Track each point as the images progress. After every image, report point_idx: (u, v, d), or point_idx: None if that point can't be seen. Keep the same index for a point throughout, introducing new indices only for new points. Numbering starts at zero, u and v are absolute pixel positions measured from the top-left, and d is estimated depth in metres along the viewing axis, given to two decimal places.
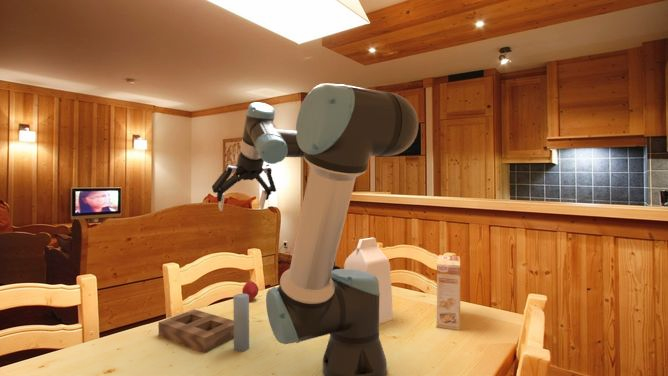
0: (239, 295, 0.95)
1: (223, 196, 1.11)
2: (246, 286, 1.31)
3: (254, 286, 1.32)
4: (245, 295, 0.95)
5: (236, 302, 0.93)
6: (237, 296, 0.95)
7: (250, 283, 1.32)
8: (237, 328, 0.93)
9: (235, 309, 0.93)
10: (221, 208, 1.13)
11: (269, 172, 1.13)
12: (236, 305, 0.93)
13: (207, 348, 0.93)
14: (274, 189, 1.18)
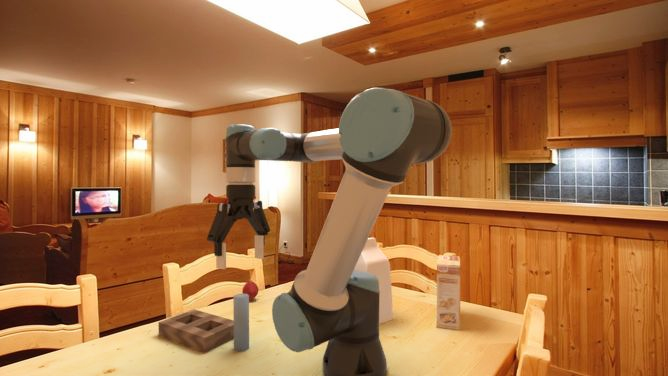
0: (239, 295, 0.95)
1: (224, 245, 0.88)
2: (246, 286, 1.31)
3: (254, 286, 1.32)
4: (245, 295, 0.95)
5: (236, 302, 0.93)
6: (237, 296, 0.95)
7: (250, 283, 1.32)
8: (237, 328, 0.93)
9: (235, 309, 0.93)
10: (224, 265, 0.89)
11: (260, 205, 1.00)
12: (236, 305, 0.93)
13: (207, 348, 0.93)
14: (268, 228, 1.02)
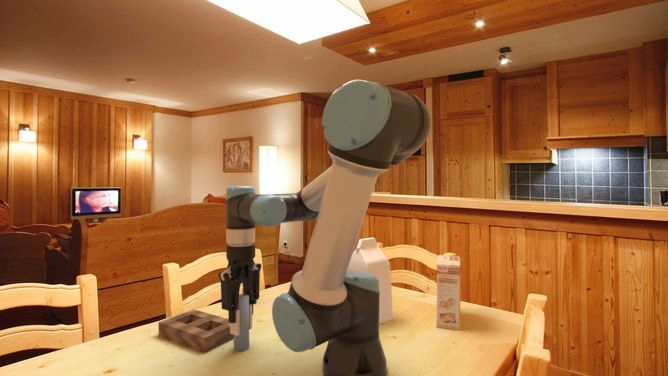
0: (239, 295, 0.95)
1: (238, 313, 0.92)
2: None
3: None
4: (245, 295, 0.95)
5: None
6: None
7: None
8: None
9: None
10: (238, 331, 0.92)
11: (259, 268, 0.99)
12: None
13: (207, 348, 0.93)
14: (258, 295, 0.99)
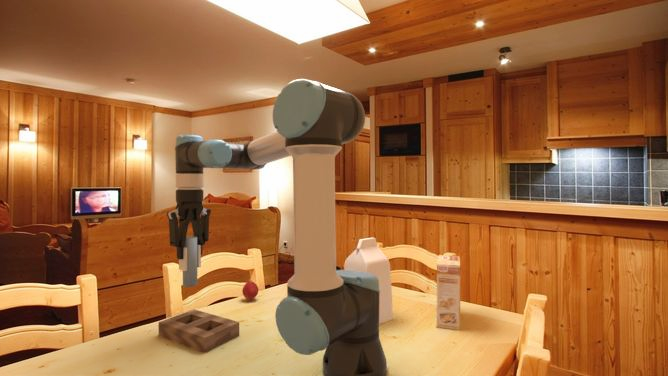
0: (188, 237, 1.05)
1: (185, 250, 1.01)
2: (246, 286, 1.31)
3: (254, 286, 1.32)
4: (194, 237, 1.04)
5: None
6: (186, 237, 1.04)
7: (250, 283, 1.32)
8: None
9: None
10: (185, 267, 1.02)
11: (208, 213, 1.08)
12: None
13: (207, 348, 0.93)
14: (207, 238, 1.08)
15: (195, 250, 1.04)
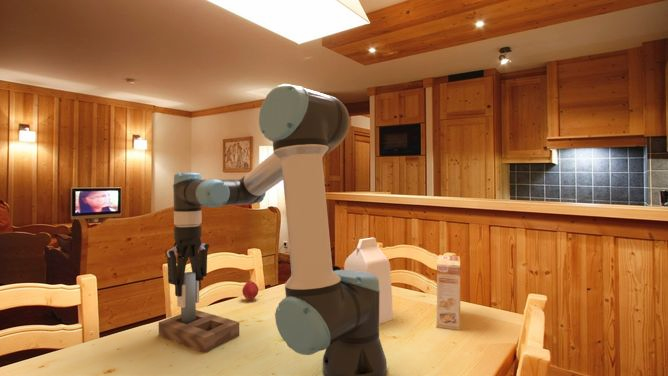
0: (186, 273, 1.05)
1: (184, 287, 1.02)
2: (246, 286, 1.31)
3: (254, 286, 1.32)
4: (192, 273, 1.05)
5: None
6: (184, 274, 1.04)
7: (250, 283, 1.32)
8: None
9: None
10: (184, 304, 1.02)
11: (206, 248, 1.09)
12: None
13: (207, 348, 0.93)
14: (205, 273, 1.08)
15: (193, 286, 1.04)
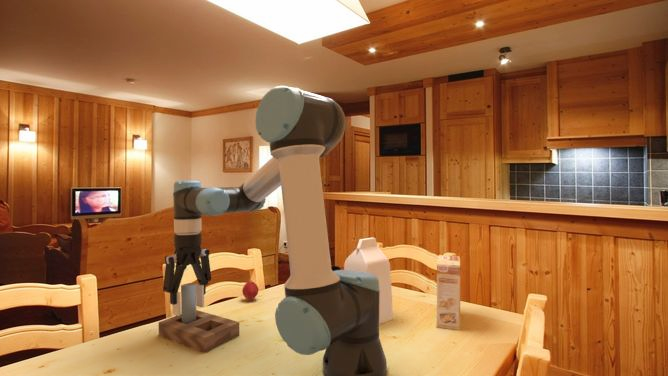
0: (187, 284, 1.05)
1: (179, 295, 1.00)
2: (246, 286, 1.31)
3: (254, 286, 1.32)
4: (192, 284, 1.05)
5: (183, 290, 1.03)
6: (185, 285, 1.04)
7: (250, 283, 1.32)
8: (183, 314, 1.03)
9: (182, 297, 1.03)
10: (179, 312, 1.01)
11: (207, 254, 1.09)
12: (183, 293, 1.03)
13: (207, 348, 0.93)
14: (210, 277, 1.10)
15: (194, 298, 1.04)
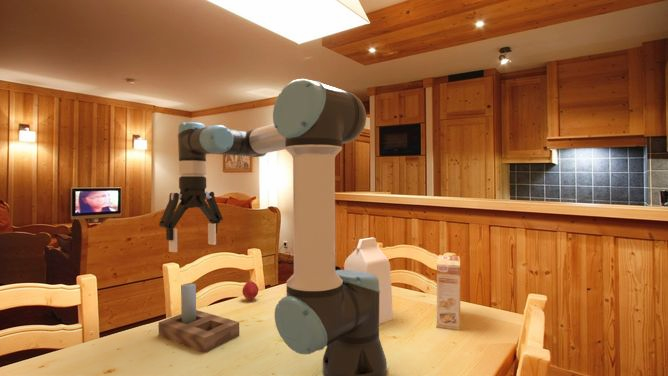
0: (187, 284, 1.05)
1: (175, 231, 0.98)
2: (246, 286, 1.31)
3: (254, 286, 1.32)
4: (192, 284, 1.05)
5: (183, 290, 1.03)
6: (184, 285, 1.04)
7: (250, 283, 1.32)
8: (183, 314, 1.03)
9: (182, 297, 1.03)
10: (176, 248, 0.98)
11: (212, 196, 1.09)
12: (183, 293, 1.03)
13: (207, 348, 0.93)
14: (221, 217, 1.12)
15: (194, 298, 1.04)
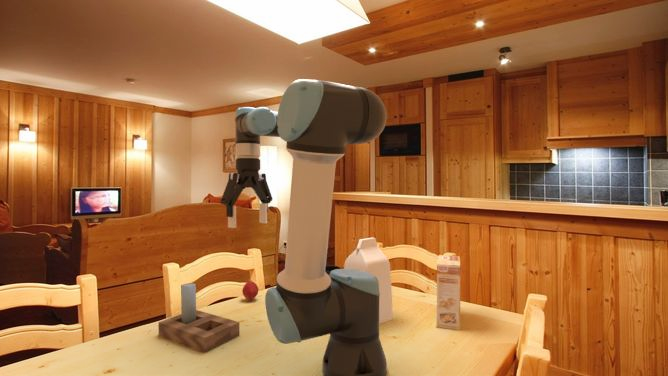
0: (187, 284, 1.05)
1: (235, 208, 1.06)
2: (246, 286, 1.31)
3: (254, 286, 1.32)
4: (192, 284, 1.05)
5: (183, 290, 1.03)
6: (184, 285, 1.04)
7: (250, 283, 1.32)
8: (183, 314, 1.03)
9: (182, 297, 1.03)
10: (235, 224, 1.06)
11: (264, 177, 1.17)
12: (183, 293, 1.03)
13: (207, 348, 0.93)
14: (271, 198, 1.20)
15: (194, 298, 1.04)
